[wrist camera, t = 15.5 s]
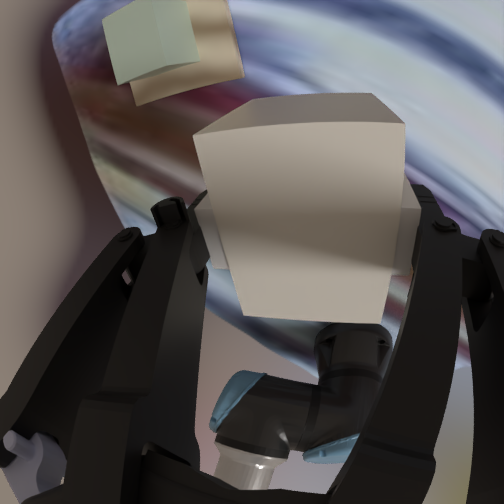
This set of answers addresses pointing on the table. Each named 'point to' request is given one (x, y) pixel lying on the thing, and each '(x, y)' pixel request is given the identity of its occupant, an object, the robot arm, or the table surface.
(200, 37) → the base plate
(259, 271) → the cream brick
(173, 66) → the sage brick
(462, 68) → the table surface
